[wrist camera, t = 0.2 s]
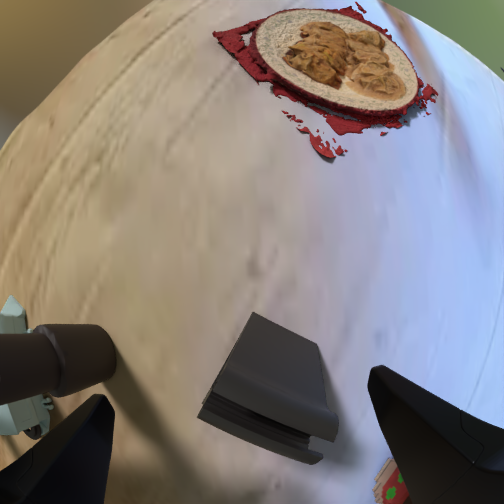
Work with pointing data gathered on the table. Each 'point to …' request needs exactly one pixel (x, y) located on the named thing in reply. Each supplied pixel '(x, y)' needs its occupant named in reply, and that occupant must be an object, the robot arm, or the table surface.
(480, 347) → the table surface
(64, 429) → the robot arm
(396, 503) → the cake
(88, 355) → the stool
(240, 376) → the phone stand
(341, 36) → the plate with food
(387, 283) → the table surface
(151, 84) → the table surface
